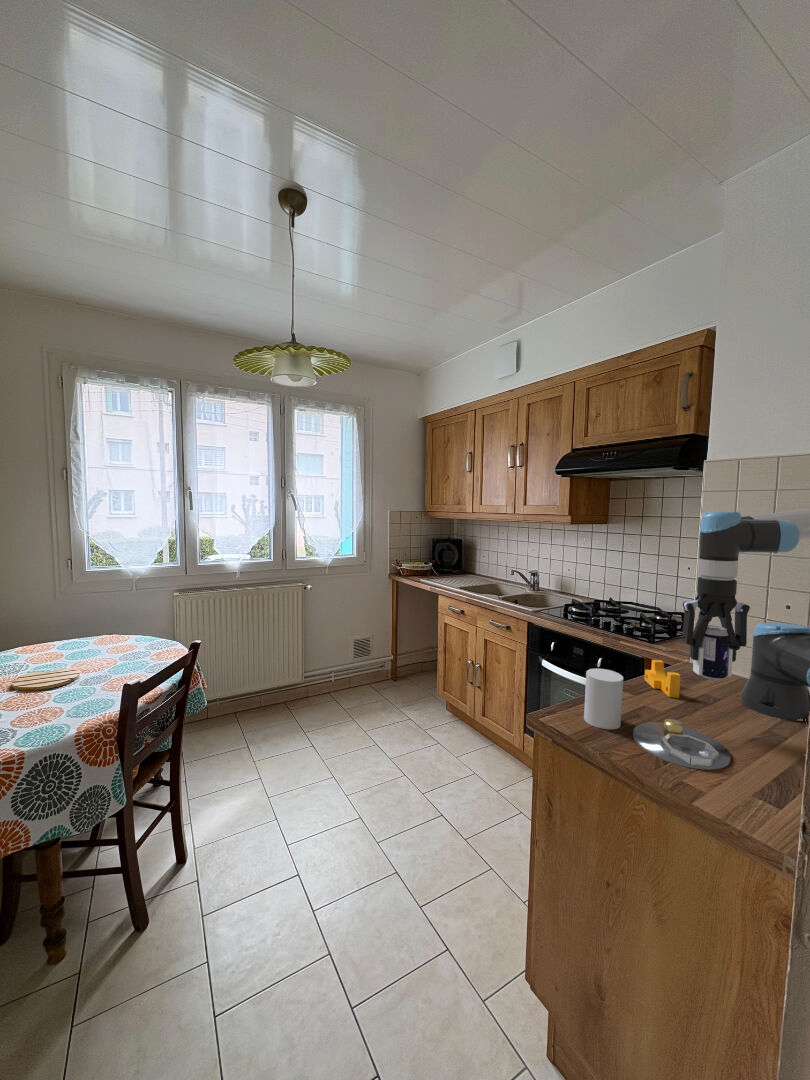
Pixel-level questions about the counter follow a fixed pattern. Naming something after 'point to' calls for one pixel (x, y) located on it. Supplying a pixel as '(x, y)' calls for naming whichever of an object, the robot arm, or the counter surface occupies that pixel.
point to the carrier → (681, 745)
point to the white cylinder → (603, 698)
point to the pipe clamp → (663, 679)
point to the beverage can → (715, 653)
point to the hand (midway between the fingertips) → (711, 673)
